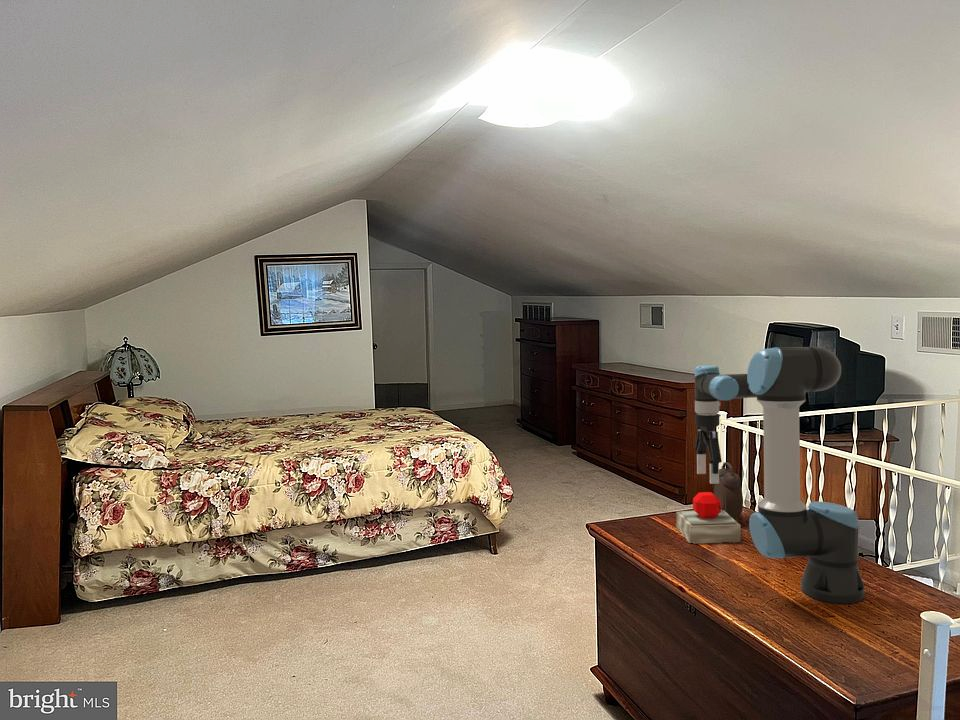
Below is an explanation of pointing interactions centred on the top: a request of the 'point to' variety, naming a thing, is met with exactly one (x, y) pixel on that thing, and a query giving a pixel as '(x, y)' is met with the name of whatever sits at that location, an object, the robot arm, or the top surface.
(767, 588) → the top surface
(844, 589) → the robot arm
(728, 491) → the brown backpack
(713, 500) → the ball
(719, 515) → the stand
